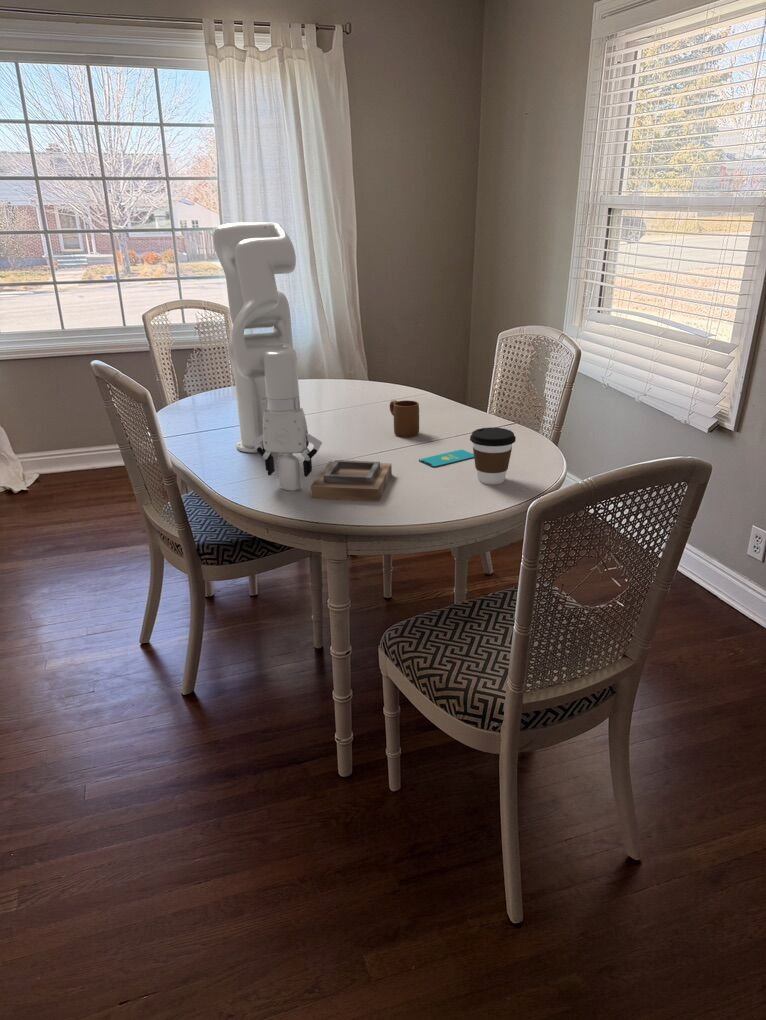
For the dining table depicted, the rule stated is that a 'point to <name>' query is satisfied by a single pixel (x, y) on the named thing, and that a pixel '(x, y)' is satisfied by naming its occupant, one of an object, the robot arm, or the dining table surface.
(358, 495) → the display stand
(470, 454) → the smartphone
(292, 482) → the eye dropper bottle
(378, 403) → the dining table surface
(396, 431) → the mug
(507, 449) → the coffee cup
